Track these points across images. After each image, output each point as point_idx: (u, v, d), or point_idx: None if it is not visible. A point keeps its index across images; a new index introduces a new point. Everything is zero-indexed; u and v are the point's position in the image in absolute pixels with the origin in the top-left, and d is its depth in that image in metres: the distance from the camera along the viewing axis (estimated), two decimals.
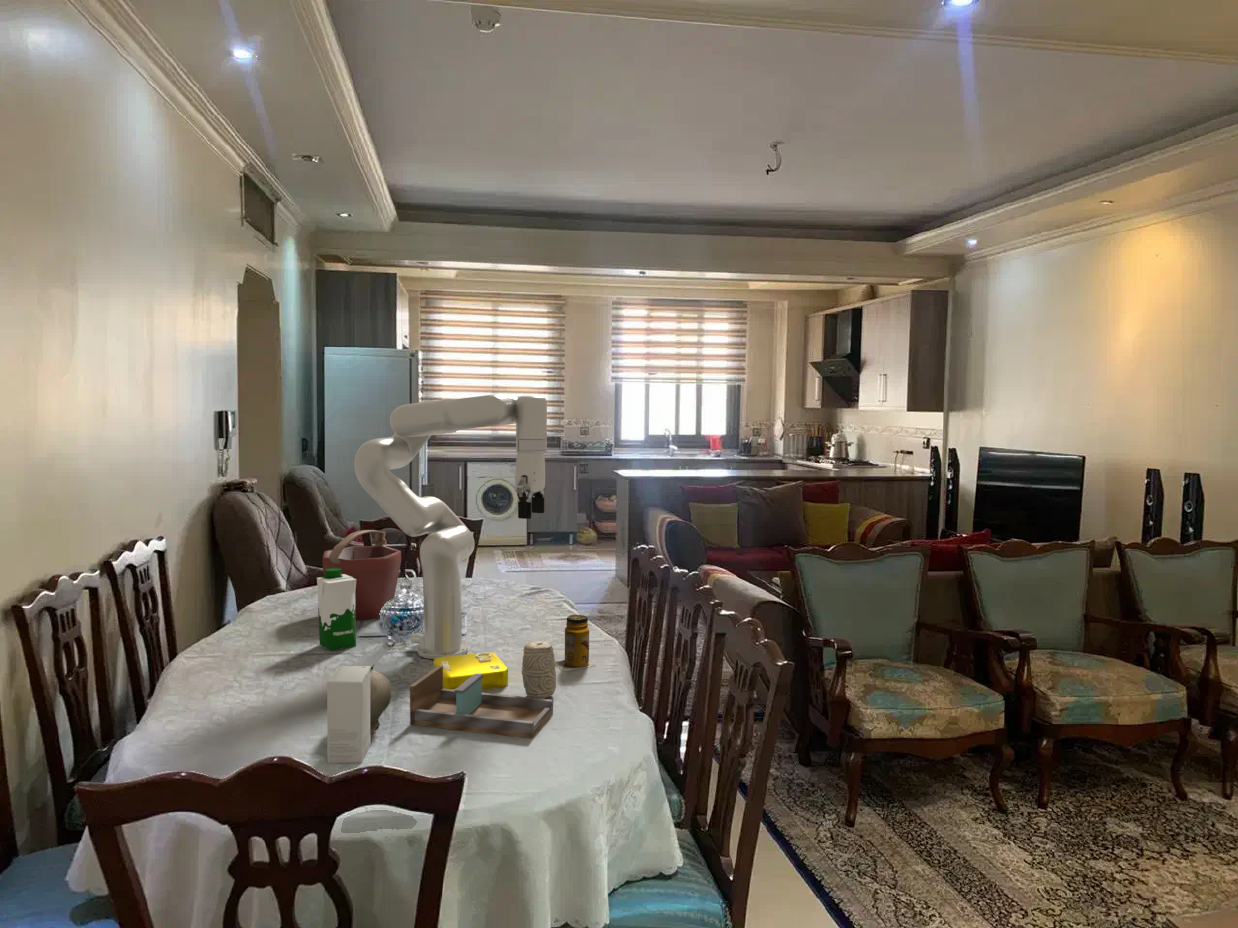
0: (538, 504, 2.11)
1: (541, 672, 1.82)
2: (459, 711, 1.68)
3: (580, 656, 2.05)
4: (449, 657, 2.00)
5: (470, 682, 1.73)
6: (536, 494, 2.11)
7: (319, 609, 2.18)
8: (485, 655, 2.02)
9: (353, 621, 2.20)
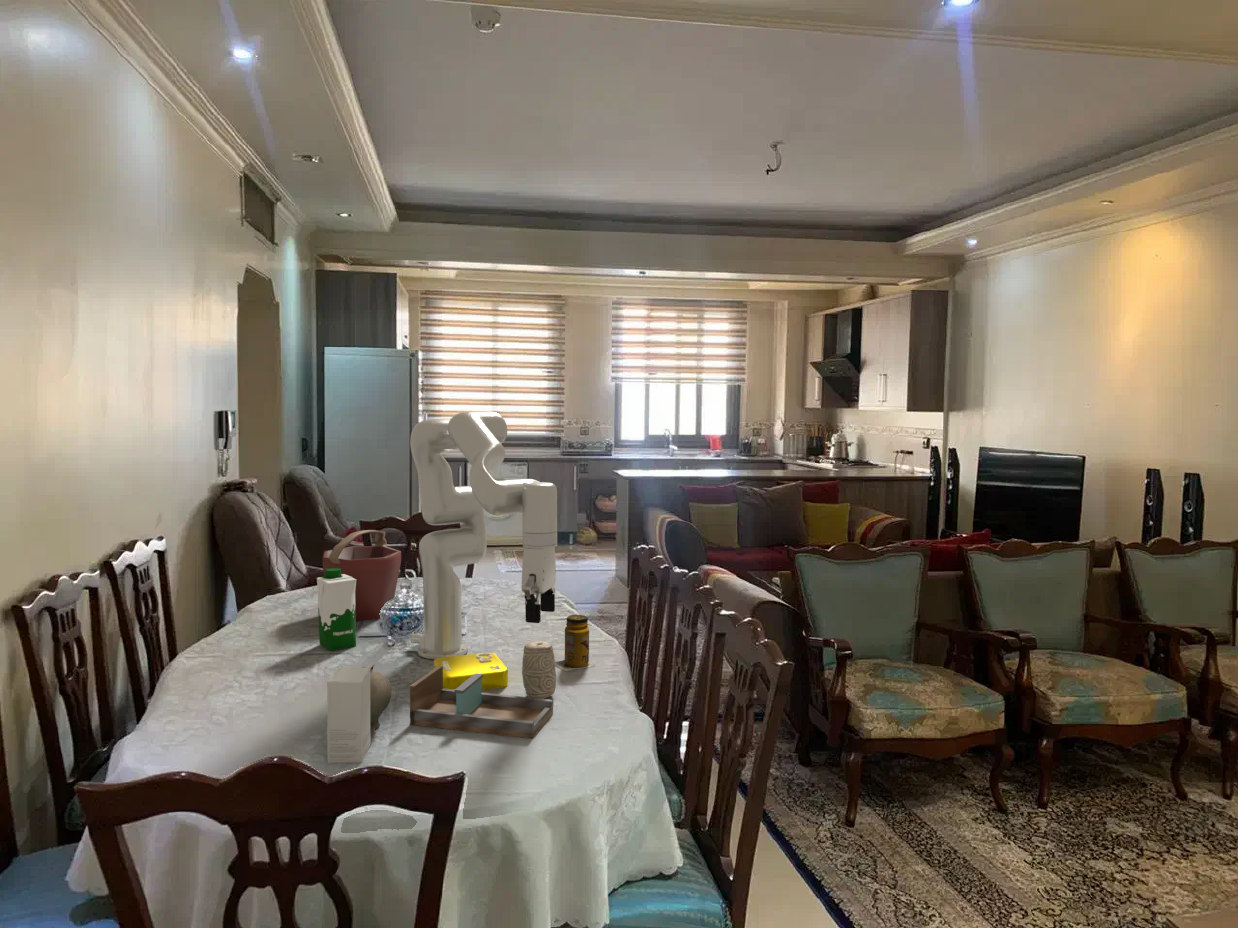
0: (548, 602, 1.88)
1: (541, 672, 1.82)
2: (459, 711, 1.68)
3: (580, 656, 2.05)
4: (450, 657, 2.00)
5: (470, 682, 1.73)
6: (545, 590, 1.88)
7: (319, 609, 2.18)
8: (486, 655, 2.01)
9: (353, 621, 2.20)
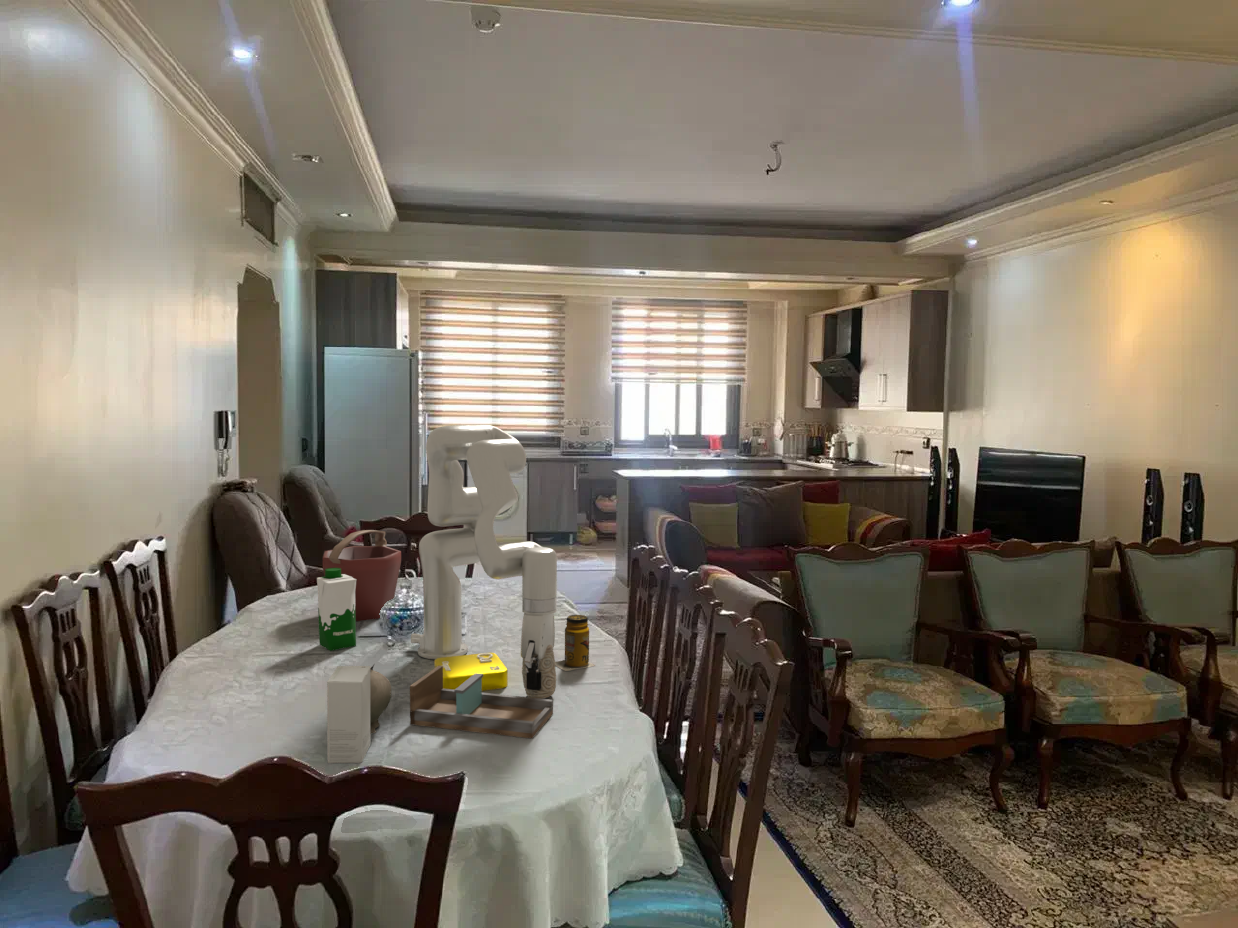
0: None
1: (541, 672, 1.82)
2: (459, 711, 1.68)
3: (580, 656, 2.05)
4: (450, 657, 2.00)
5: (470, 682, 1.73)
6: None
7: (319, 609, 2.18)
8: (486, 656, 2.01)
9: (353, 621, 2.20)
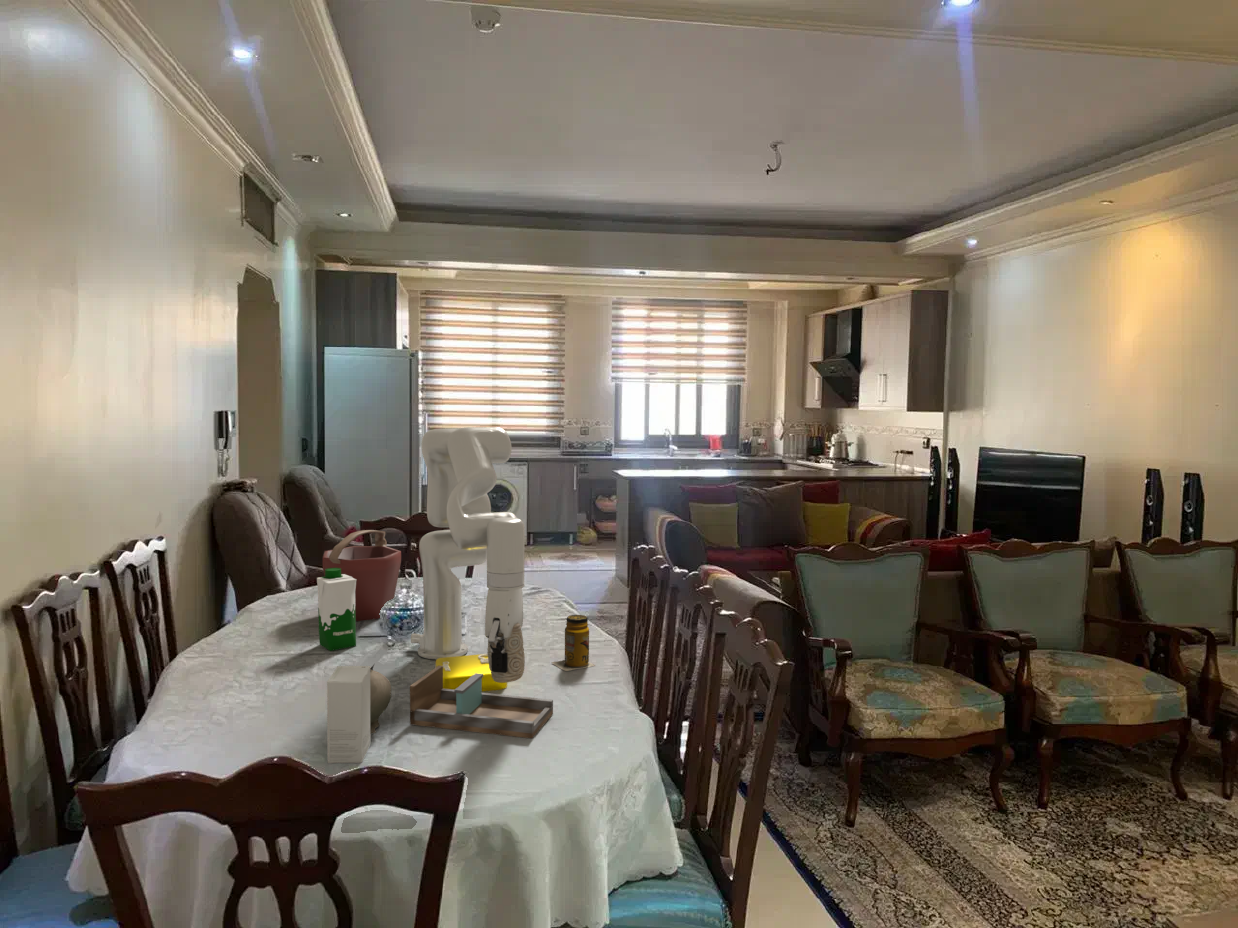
0: None
1: (508, 653, 1.67)
2: (459, 711, 1.68)
3: (579, 656, 2.05)
4: (452, 657, 2.00)
5: (470, 682, 1.73)
6: None
7: (319, 609, 2.18)
8: None
9: (353, 621, 2.20)
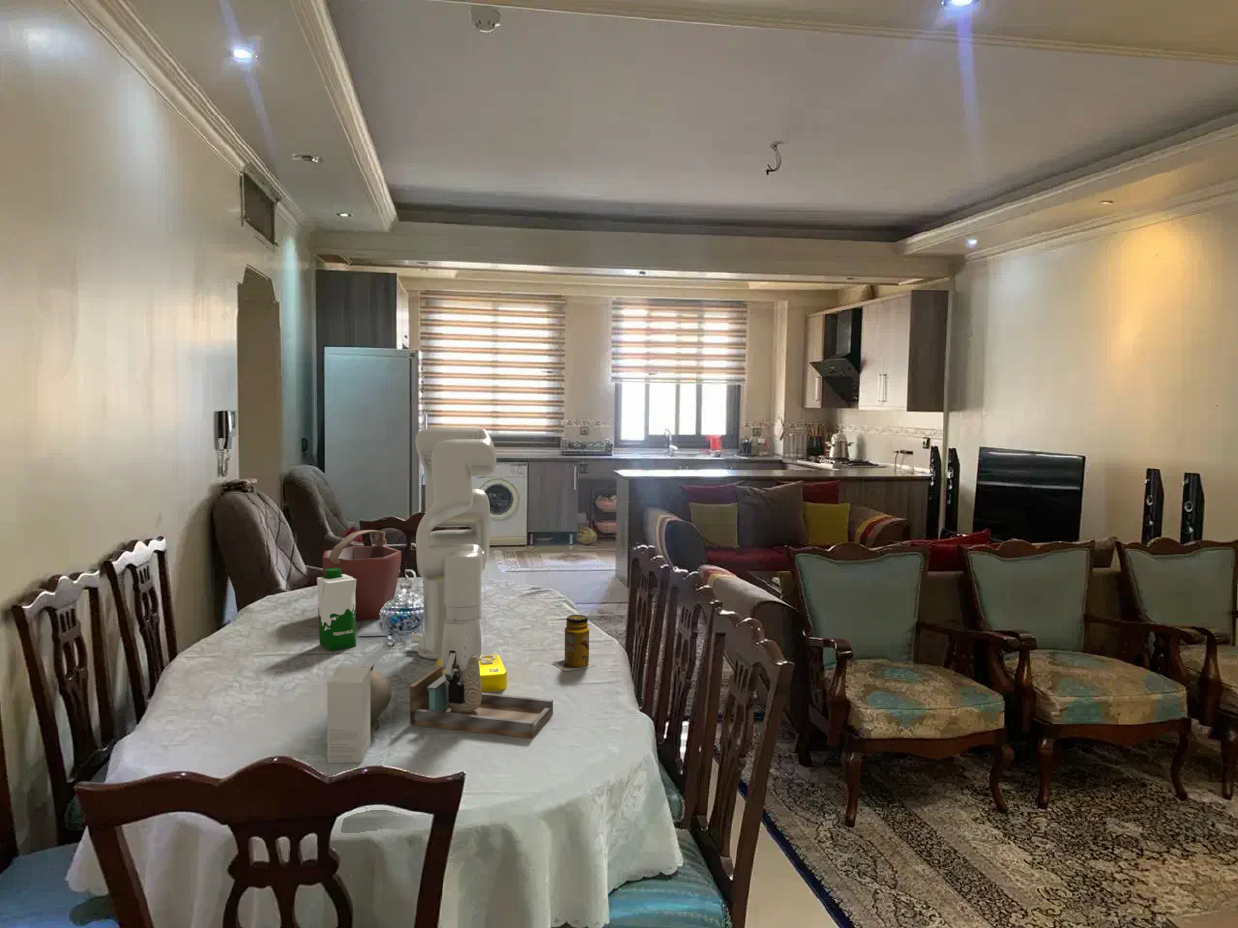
0: None
1: (464, 684, 1.70)
2: (432, 708, 1.70)
3: (579, 656, 2.05)
4: None
5: (443, 679, 1.74)
6: None
7: (319, 609, 2.18)
8: (489, 657, 2.00)
9: (353, 621, 2.20)
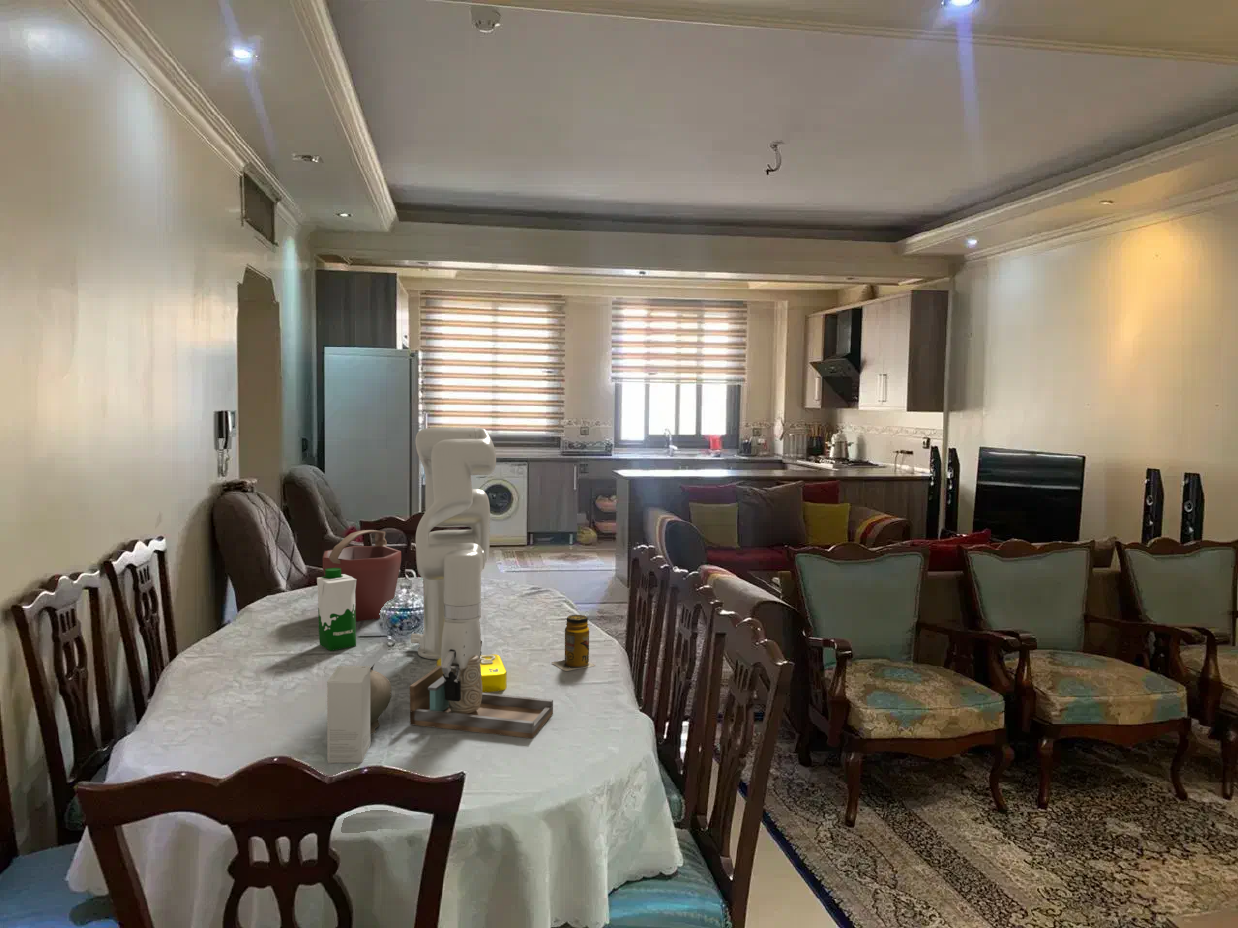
0: None
1: (465, 685, 1.70)
2: (432, 708, 1.70)
3: (579, 656, 2.05)
4: None
5: None
6: None
7: (319, 609, 2.18)
8: (489, 657, 2.00)
9: (353, 621, 2.20)
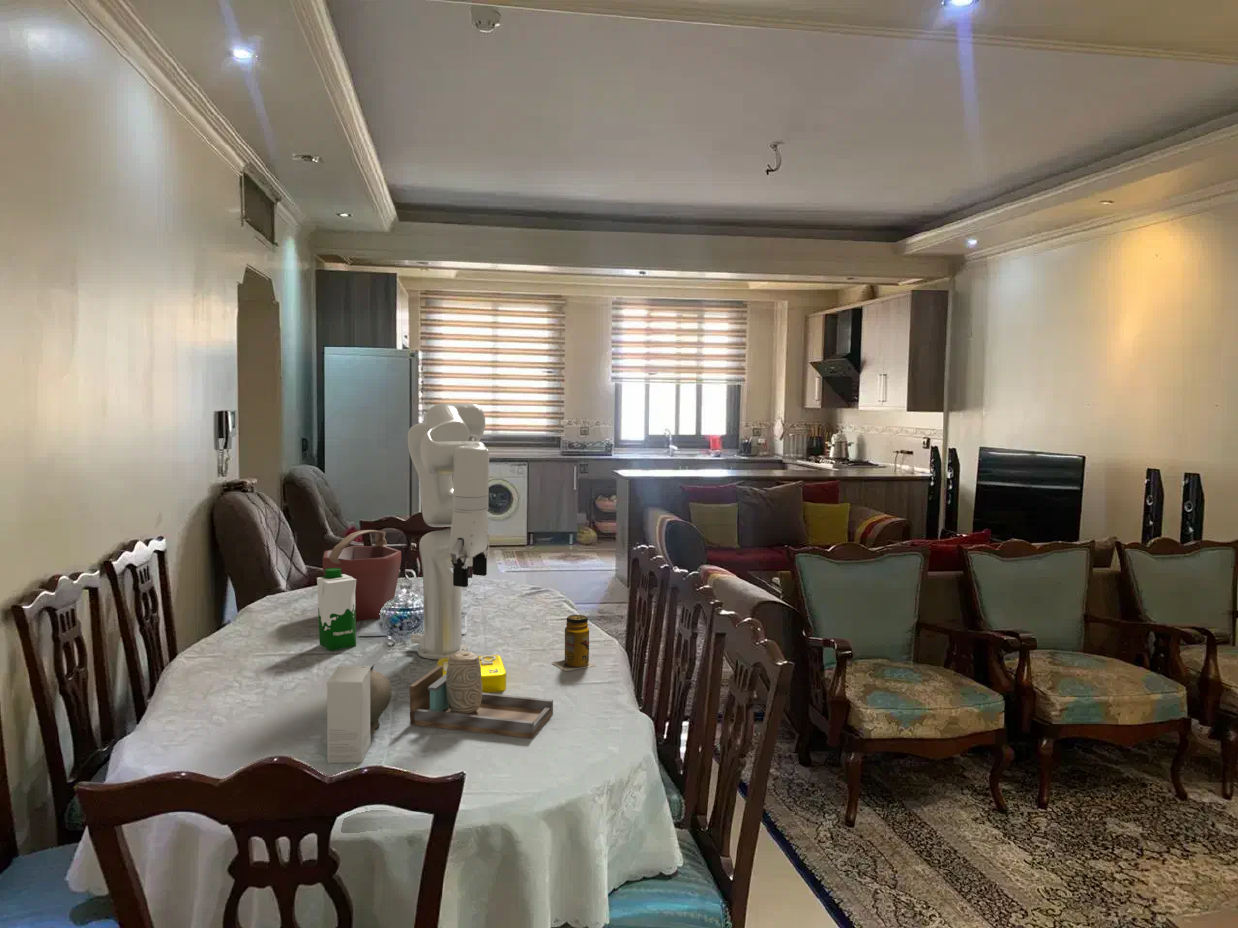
0: (480, 566, 1.87)
1: (465, 685, 1.70)
2: (432, 708, 1.70)
3: (579, 656, 2.05)
4: None
5: (444, 679, 1.74)
6: (478, 554, 1.87)
7: (319, 609, 2.18)
8: (490, 658, 2.00)
9: (353, 621, 2.20)
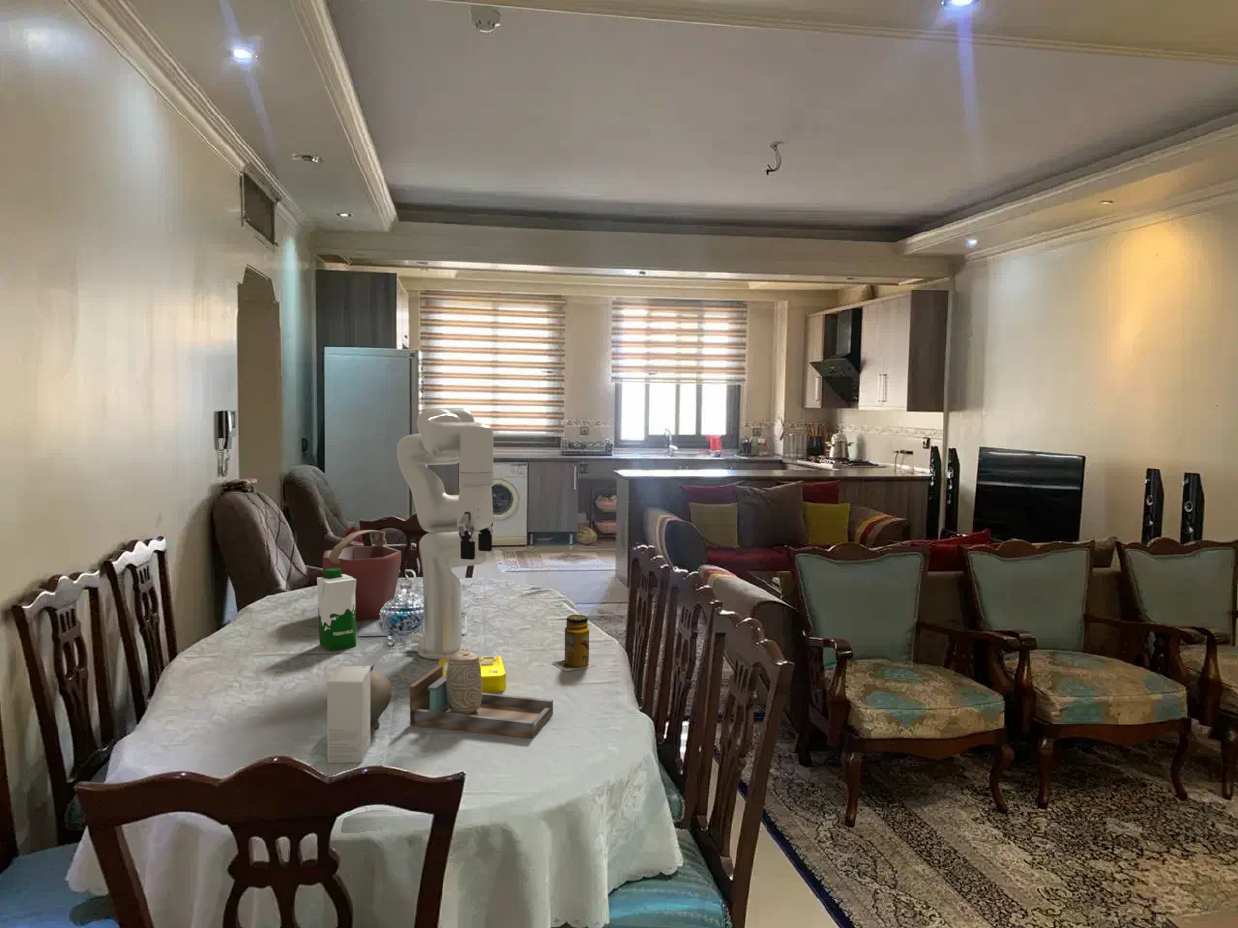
0: (485, 542, 1.94)
1: (465, 685, 1.70)
2: (432, 708, 1.70)
3: (579, 656, 2.05)
4: None
5: (444, 679, 1.74)
6: (483, 531, 1.94)
7: (319, 609, 2.18)
8: (490, 658, 1.99)
9: (353, 621, 2.20)
